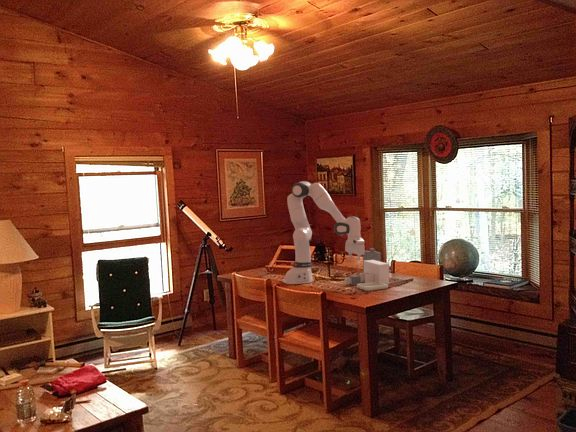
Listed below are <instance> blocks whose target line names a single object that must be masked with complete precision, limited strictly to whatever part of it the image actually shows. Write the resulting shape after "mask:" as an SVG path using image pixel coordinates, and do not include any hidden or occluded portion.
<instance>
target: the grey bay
mask: <svg viewBox="0 0 576 432" xmlns="http://www.w3.org/2000/svg"><path fill="white" fill-rule="evenodd" d="M358 275H359V276H361V283H370V282H381V283H384V284H388V285H389V284H390V263H388V262H385V261H384V262H383V261H381V262H380V261H376V260H365V261H364V273H363V272H360V273H359V274H358Z"/></svg>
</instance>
